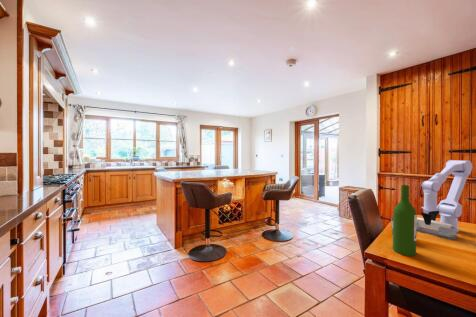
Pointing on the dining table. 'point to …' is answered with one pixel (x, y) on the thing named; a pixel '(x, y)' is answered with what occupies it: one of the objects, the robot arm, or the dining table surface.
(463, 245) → the dining table surface
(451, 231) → the stand
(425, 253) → the dining table surface
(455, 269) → the dining table surface
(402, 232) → the wine bottle
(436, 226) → the rail
